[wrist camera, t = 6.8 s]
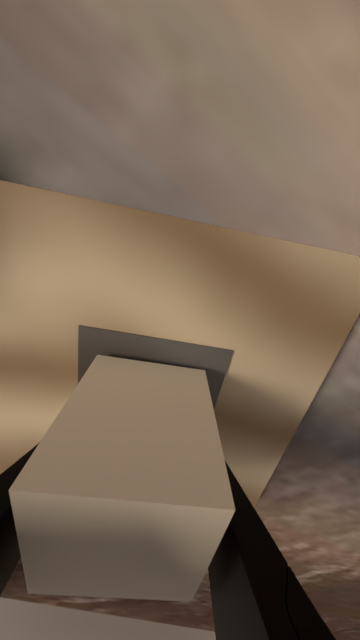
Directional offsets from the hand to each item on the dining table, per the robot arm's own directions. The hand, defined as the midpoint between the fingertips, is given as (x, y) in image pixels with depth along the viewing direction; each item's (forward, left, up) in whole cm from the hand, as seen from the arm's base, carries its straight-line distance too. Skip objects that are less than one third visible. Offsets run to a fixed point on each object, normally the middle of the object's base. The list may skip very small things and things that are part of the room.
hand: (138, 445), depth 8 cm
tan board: (0, 0, -3) cm, 3 cm away
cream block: (0, 0, -2) cm, 2 cm away
